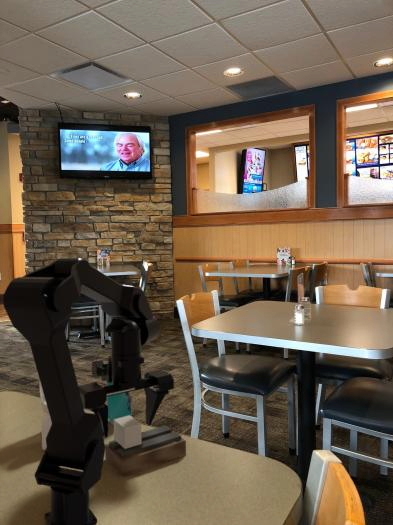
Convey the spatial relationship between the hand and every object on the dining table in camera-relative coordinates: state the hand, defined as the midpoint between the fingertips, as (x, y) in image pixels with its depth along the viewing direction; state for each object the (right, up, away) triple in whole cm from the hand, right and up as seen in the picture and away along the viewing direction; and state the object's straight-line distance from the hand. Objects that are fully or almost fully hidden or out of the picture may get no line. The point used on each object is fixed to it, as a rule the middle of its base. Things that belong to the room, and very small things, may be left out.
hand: (127, 430), depth 84 cm
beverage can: (-5, -6, +20) cm, 21 cm away
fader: (0, -3, 0) cm, 3 cm away
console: (+3, -6, +2) cm, 7 cm away
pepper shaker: (-17, -7, +8) cm, 20 cm away
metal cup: (-19, -6, +15) cm, 25 cm away
